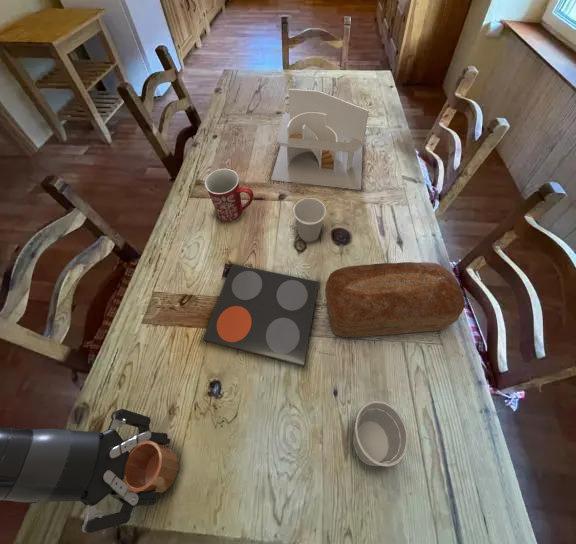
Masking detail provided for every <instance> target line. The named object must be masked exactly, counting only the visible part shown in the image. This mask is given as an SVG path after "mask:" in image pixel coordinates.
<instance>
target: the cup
mask: <svg viewBox="0 0 576 544" xmlns="http://www.w3.org/2000/svg"><path fill="white" fill-rule="evenodd" d="M408 433H409V432H408V428H407V425H406V422H405V420H404V419H403V417H402V414H401V413H400V412H399V411H398V410H397V409H396V408H395V407H394V406H392V405H391V404H389V403H388V402H385V401H382V400H372V401H369V402H366V403H365V404H364V405H363V406H362V407H361V408H360V409H359V411H358V413H357V414H356V418H355V425H354V431H353V434H352V445H353V449H354V452H355V454H356V455H357V457H358V459H359V460H360V461H361V462H363V463H364V464H365V465H366V466H370V467H377V466H378V467H392V466H396V465H397V464H398V463H400V462H401V461H402V460H403V458H404V457H405V455H406V453H407V450H408V446H409V434H408Z"/></svg>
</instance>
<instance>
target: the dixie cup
mask: <svg viewBox="0 0 576 544" xmlns="http://www.w3.org/2000/svg"><path fill="white" fill-rule="evenodd" d="M292 214H293V216H294V219H295V223H296V228H297V232H298V236H299V238H300V239H301V240H302V241H304V242H309V243H311V242H314V241H316V240H317V239H318V238H319V237H320V234H321V230H322V226H323V223H324V220H325V218H326V215H327V208H326V205H325V204H324V203H323V202H322V201H321V200H319V199H318V198H314V197H304V198H302V199H301V198H300V199H299V200H298V201H296V203H295V204H294V206H293V208H292Z"/></svg>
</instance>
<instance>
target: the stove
mask: <svg viewBox="0 0 576 544" xmlns="http://www.w3.org/2000/svg"><path fill="white" fill-rule="evenodd" d="M319 283H320V282H319V281H317V280H311V279H306V278H301V277H297V276H292V275H289V274H283V273H278V272H272V271H268V270H264V269H259V268H254V267H249V266H244V265H239V264H235V263H231V265H230V267H229V270H228V273H227V275H226V277H225V280H224V283H223V286H222V288H221V291H220V293H219V296H218V298H217V302H216V304H215V306H214V309H213V312H212V313H211V314H212V315H211V317H210V319H209V322H208V325H207V327H206V330H205V332H204V335H203V337H202V340H203V342H204V343H208V344H213V345H217V346H221V347H225V348H227V349H232V350H235V351H240V352H243V353H248V354H251V355H256V356H259V357H264V358H267V359H270V360H275V361H279V362H283V363H287V364H290V365H293V366H298V367H303V368H304V367H305V363H306V357H307V351H308V346H309V340H310V335H311V329H312V323H313V317H314V313H315V305H316V303H317V301H316V300H317V296H318V290H319V286H320V285H319Z"/></svg>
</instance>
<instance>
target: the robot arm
mask: <svg viewBox="0 0 576 544" xmlns="http://www.w3.org/2000/svg"><path fill="white" fill-rule="evenodd" d="M110 419H111V421H110V423H109V426H108V428H107V430H105V431H101V432H99V431H88V430H87V431H86V430H77V429H65V428H64V429H63V428H62V429H61V428H38V429H34V428H33V429H30V428H19V427H7V426H0V501H9V502H16V503H30V504H36V503H37V504H38V503H60V502H61V503H63V502H65V503H66V502H67V503H68V502H81V503H82V504H84V505H85V506H86V509H85V514H84V520H82V522H81V524H80V525H79V531H80V533H81V534H91V533H94V532H99V531H102V530H106V529H109V528H114V527H119V526H122V525H125V524H128V523H129V522H130V520H131V518H132V513H133V511H134V509H135V508H136V507H139V506H140V507H141V506H142V507H143V506H154V505H155V504H156V503H157V499H158V500H159V499H161V497H162V493H161V492H140V493H139V492H133V491H131V490H128V488H129V486H128V485H127V484H125V483H124V482H123V479H124V476H125V466H126V463H127V461H128V458H129V454H130V451H131V450H132V449H133V448H134V447H136V446H138V444H139V443H140V442H144V441H152V442H155V443H157V444H159V445H162V446H167V445H170V443H171V438H169V434H168V433H166V432H158V431H157V432H156V431H151V428H150V424H151V422H152V419H151V417H149V416H147V415H143V414H140V413H137V412H135V411H131V410H127V409H125V408H119V409H116V410H114V411H112V413H111V414H110ZM125 425H127V426H131V427H134V428H138V434H135V435H133V436H131V437H129V438H127V439H125V440H124V439H123V438H122V437H121V435H120V434H119V432H118V431H117V429H118V428H121V427H124V426H125ZM107 496H110V497H111V498H113V499H115V500H117V501H118V502H119V503H121V507H120V509H119V512H114V513H110V514H106V515H104V512H103V510H102V509H98V507H97V505H98V504H99V503H100V502H101V501H102V500H104V499H105V498H106V497H107Z"/></svg>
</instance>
